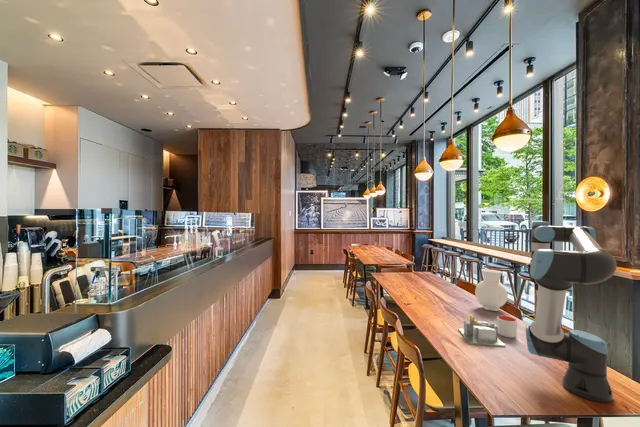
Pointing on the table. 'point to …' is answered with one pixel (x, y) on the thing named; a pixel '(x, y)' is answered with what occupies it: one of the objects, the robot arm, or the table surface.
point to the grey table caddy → (481, 334)
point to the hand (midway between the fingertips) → (539, 296)
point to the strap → (484, 325)
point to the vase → (491, 290)
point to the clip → (473, 319)
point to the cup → (507, 326)
